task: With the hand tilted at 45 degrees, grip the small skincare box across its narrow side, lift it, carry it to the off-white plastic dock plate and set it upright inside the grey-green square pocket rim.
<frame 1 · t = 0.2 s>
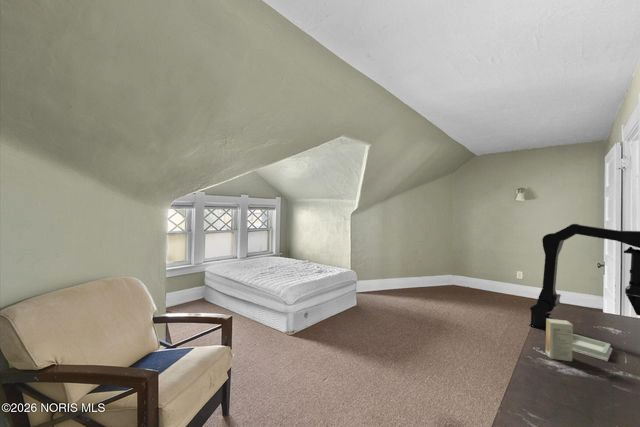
skincare box: (557, 357, 100), on the table
dock: (586, 348, 106), on the table
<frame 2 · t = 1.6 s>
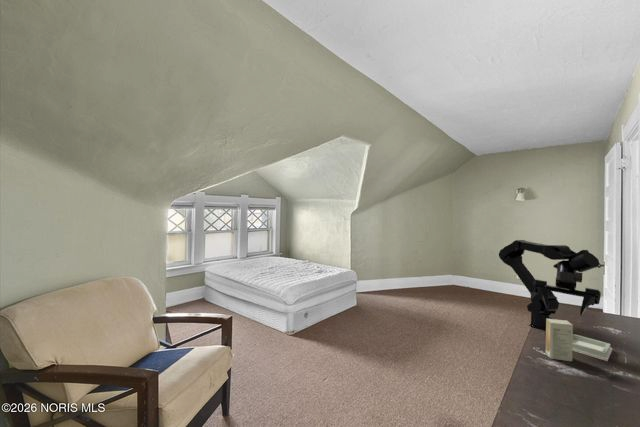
hand: (563, 311, 105), 13 cm above the table, tool tilted 45°, fingers open, 9 cm apart
nothing on the table moved.
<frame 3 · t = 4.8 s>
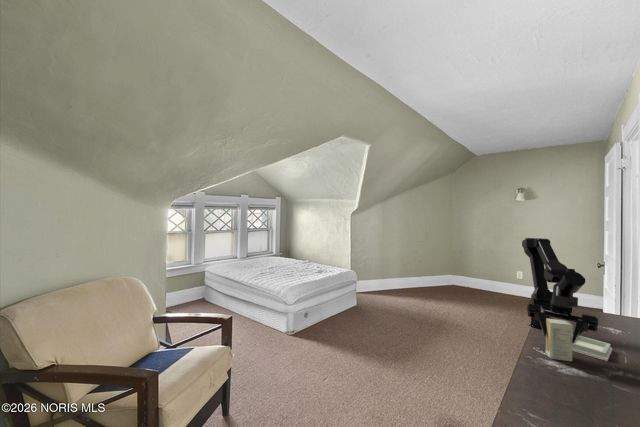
hand: (558, 339, 98), 7 cm above the table, tool tilted 45°, fingers closed on skincare box, 7 cm apart
skincare box: (557, 357, 100), on the table, touching gripper
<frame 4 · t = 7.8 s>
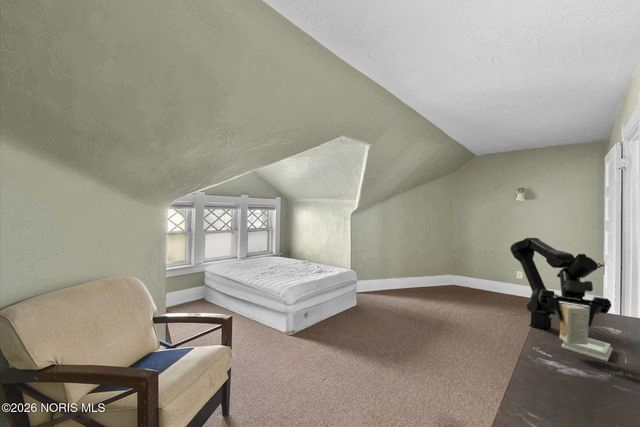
hand: (575, 323, 99), 12 cm above the table, tool tilted 45°, fingers closed on skincare box, 7 cm apart
skincare box: (572, 342, 101), point 5 cm above the table, touching gripper
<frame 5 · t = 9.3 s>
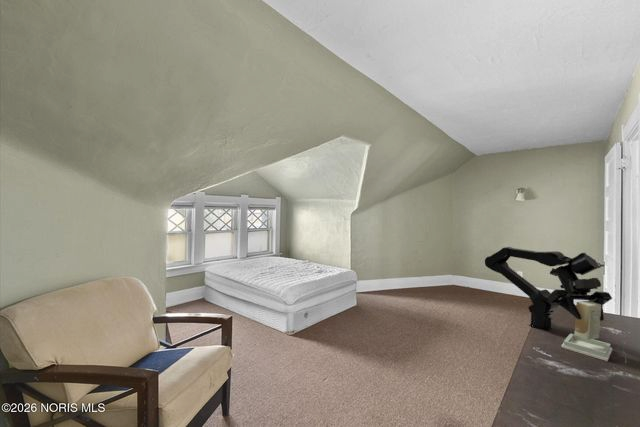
hand: (591, 319, 104), 11 cm above the table, tool tilted 45°, fingers closed on skincare box, 7 cm apart
skincare box: (586, 337, 106), point 4 cm above the table, touching gripper
when the fingers open (8 cm above the table, at t = 10.7 s): skincare box stays where it is, resting on dock.
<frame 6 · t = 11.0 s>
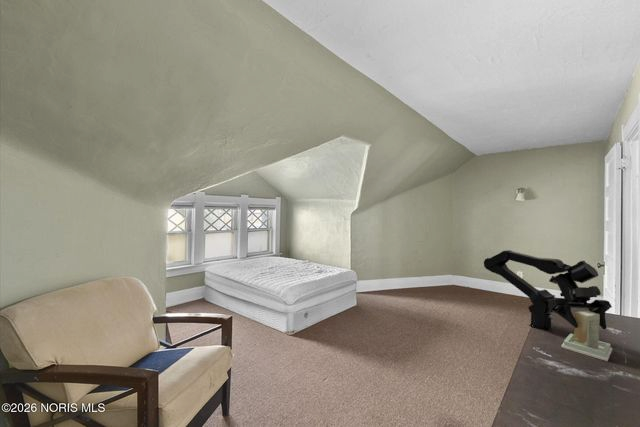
hand: (591, 328, 104), 8 cm above the table, tool tilted 45°, fingers open, 9 cm apart
skincare box: (585, 346, 106), point 1 cm above the table, touching dock
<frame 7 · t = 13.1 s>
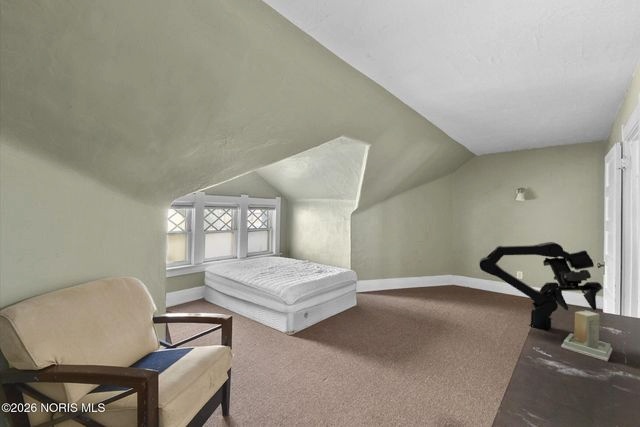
hand: (581, 310, 110), 13 cm above the table, tool tilted 40°, fingers open, 9 cm apart
nothing on the table moved.
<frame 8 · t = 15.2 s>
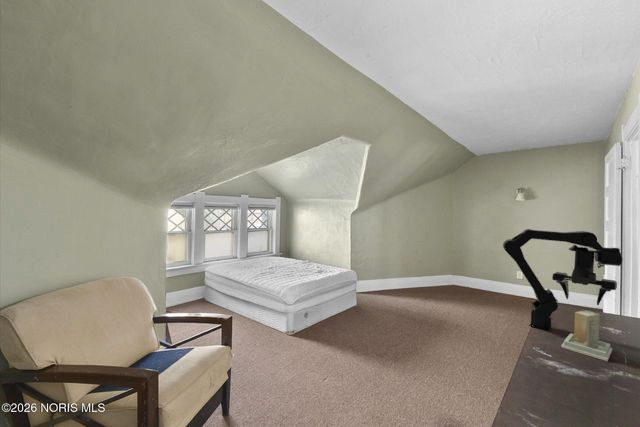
hand: (582, 301, 118), 13 cm above the table, tool pointing down, fingers open, 9 cm apart
nothing on the table moved.
at the end: skincare box 0.3 cm off-centre on the dock, point 0.6 cm above the dock's base; skincare box tilted 0°; the gripper is holding nothing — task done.
